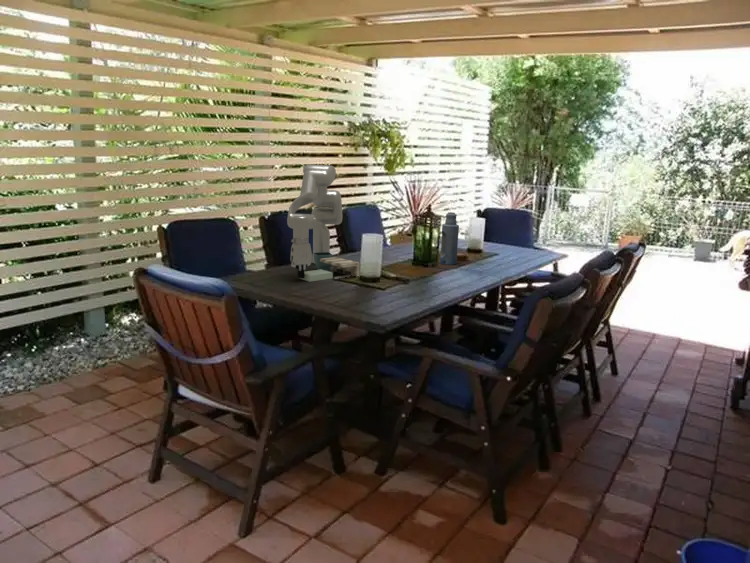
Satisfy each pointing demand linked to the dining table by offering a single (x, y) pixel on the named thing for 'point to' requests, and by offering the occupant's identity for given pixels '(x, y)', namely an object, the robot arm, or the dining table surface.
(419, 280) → the dining table surface
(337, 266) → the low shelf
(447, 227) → the bottle
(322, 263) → the flower pot
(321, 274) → the pale green flat block
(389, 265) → the dining table surface
